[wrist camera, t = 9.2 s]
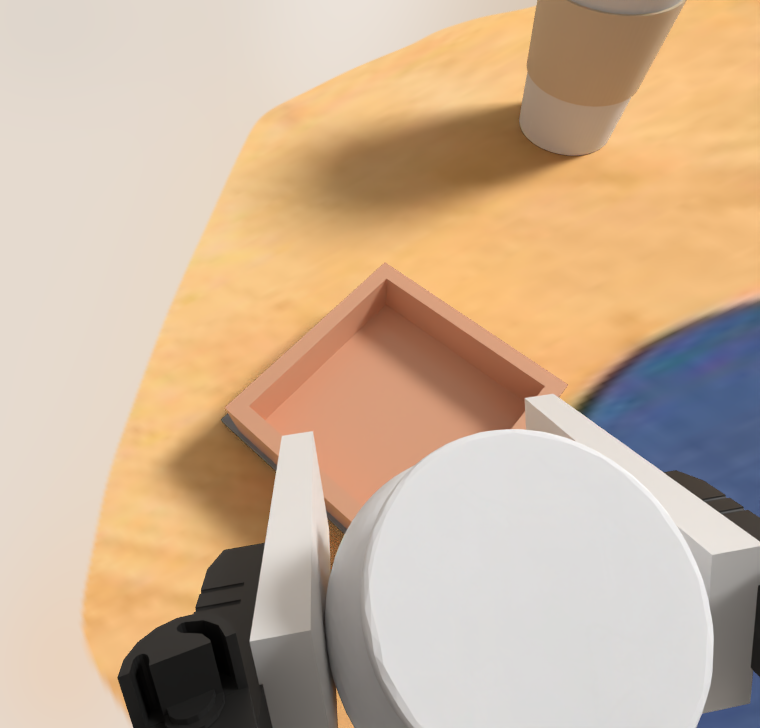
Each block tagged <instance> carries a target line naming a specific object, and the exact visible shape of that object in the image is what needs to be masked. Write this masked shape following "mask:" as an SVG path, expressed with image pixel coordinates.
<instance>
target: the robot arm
mask: <svg viewBox="0 0 760 728" xmlns="http://www.w3.org/2000/svg"><path fill="white" fill-rule="evenodd" d="M525 419H526V430H533V431H541V432H546V433H550V434H554V435H558V436H562V437H565V438H568V439H571V440H573V441H576V442H578V443H581V444H583V445H585V446H587V447H589V448H591V449H593V450H595V451H597V452H599V453H601V454H602V455H604V456H606V457H607V458H609V459H611V460H612V461H614V462H615V463H616V464H618V465H619V466H621V467H622V468H623V469H625V470H626V471H627V472H629V473H630V474H632V475H633V476H634V477H635V478H636V479H637V480H638V481H639V482H640V483H641V484H642V485H644V486H645V487H646V488H647V489H648V490H649V491H650V493H651V494H652V495H653V496H654V497H655V498H656V499H657V500H658V501H659V502H660V504H661V505H662V506H663V507H664V509H665V510H666V511H667V512H668V514H669V515H670V517H671V518H672V520H673V521H674V523H675V524H676V526H677V527H678V529H679V530H680V532H681V534H682V535H683V537H684V539H685V541H686V542H687V544H688V546H689V548H690V550H691V552H692V555H693V557H694V559H695V561H696V563H697V566H698V568H699V571H700V574H701V576H702V579H703V582H704V586H705V589H706V592H707V596H708V600H709V606H710V612H711V618H712V624H713V633H714V644H713V672H712V678H711V685H710V689H709V692H708V696H707V699H706V703H705V706H704V709H703V712H702V713H707V712H712V711H716V710H721V709H726V708H730V707H735V706H740V705H744V704H749V703H750V698H751V687H752V676H753V670H754V672H755V673H756V674H757V675H758V676H759V677H760V518H759V517H758V516H756V515H755V514H753V513H752V512H750V511H749V510H744V508H743V506H741V505H740V504H738V503H737V502H735V501H734V500H732V499H731V498H726V496H725V494H723V493H722V492H720V491H719V490H717V489H716V488H714V487H713V486H711V485H710V484H708V483H707V482H705V481H703V480H701V479H698V478H695V477H693V476H690V475H687V474H684V473H682V472H679V471H676V470H675V471H670V472H664V473H663V472H662V471H661V470H659V469H658V468H656V467H655V466H654V465H652V464H651V463H649V462H648V461H647V460H645V459H644V458H642V457H641V456H640V455H638V454H637V453H635V452H634V451H633V450H631V449H630V448H628V447H627V446H626V445H624V444H623V443H621V442H620V441H619V440H617V439H616V438H614V437H613V436H612V435H610V434H609V433H607V432H606V431H605V430H603V429H602V428H600V427H599V426H598V425H596V424H595V423H594V422H592V421H591V420H589V419H588V418H587V417H585V416H584V415H582V414H581V413H580V412H578V411H577V410H575V409H574V408H573V407H571V406H570V405H568V404H567V403H566V402H564V401H563V400H561V399H560V398H559V397H557V396H556V395H554V394H547V395H541V396H535V397H528V398H525ZM330 574H331V564H330V541H329V526H328V519H327V513H326V507H325V501H324V495H323V489H322V483H321V477H320V471H319V465H318V459H317V453H316V447H315V441H314V435H313V431H310V432H304V433H297V434H291V435H284V436H282V439H281V445H280V451H279V458H278V464H277V470H276V477H275V483H274V489H273V496H272V502H271V508H270V515H269V521H268V527H267V534H266V540H265V543H262V544H256V545H250V546H244V547H239V548H233V549H227V550H224V551H223V552H222V553H221V554H220V555H219V556H218V558H217V559H216V560H215V561H214V562H213V563H212V565H211V566H210V567H209V568H208V569H207V572H206V576H205V579H204V582H203V585H202V588H201V594H200V595H199V598H198V601H197V604H196V612H194V614H192V615H188V616H184V617H179V618H176V619H174V620H172V621H170V622H168V623H166V624H164V625H162V626H159V627H157V628H156V629H154V630H153V631H152V632H150V633H149V634H148V635H147V636H145V637H144V638H143V639H141V640H140V641H139V642H137V644H136V645H135V646H134V647H133V649H132V650H131V651H130V652H129V654H128V655H127V656H126V657H125V659H124V660H123V663H122V666H121V669H120V672H119V675H118V681H119V684H120V687H121V690H122V693H123V697H124V700H125V703H126V706H127V709H128V712H129V715H130V719H131V722H132V725H133V728H338V721H337V698H336V685H335V682H334V679H333V676H332V672H331V668H330V663H329V657H328V651H327V645H326V633H325V605H326V595H327V588H328V582H329V577H330Z"/></svg>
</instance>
